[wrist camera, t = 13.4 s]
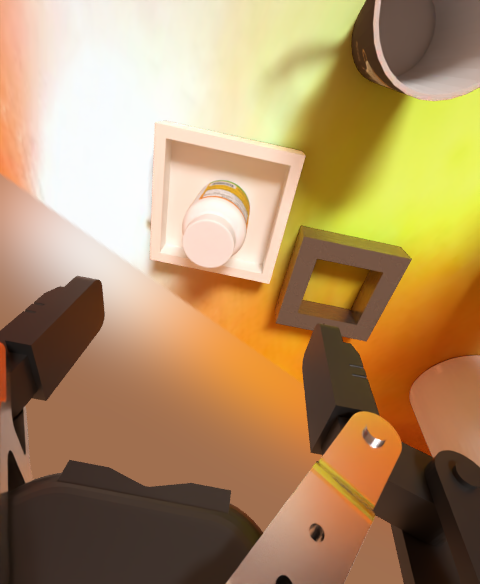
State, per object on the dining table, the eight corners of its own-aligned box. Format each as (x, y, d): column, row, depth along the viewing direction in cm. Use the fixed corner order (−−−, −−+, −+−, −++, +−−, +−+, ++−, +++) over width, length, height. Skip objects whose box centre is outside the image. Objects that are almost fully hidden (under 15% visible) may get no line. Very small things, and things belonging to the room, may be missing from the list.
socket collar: (400, 246, 33) (411, 259, 31) (360, 325, 39) (366, 341, 36) (301, 225, 33) (303, 236, 30) (275, 308, 39) (275, 323, 36)
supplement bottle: (219, 240, 33) (203, 287, 25) (186, 199, 31) (157, 236, 23) (260, 212, 31) (257, 254, 23) (229, 166, 29) (213, 195, 21)
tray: (302, 151, 29) (305, 156, 26) (269, 270, 36) (269, 283, 33) (164, 120, 28) (154, 122, 26) (158, 247, 35) (149, 259, 33)
